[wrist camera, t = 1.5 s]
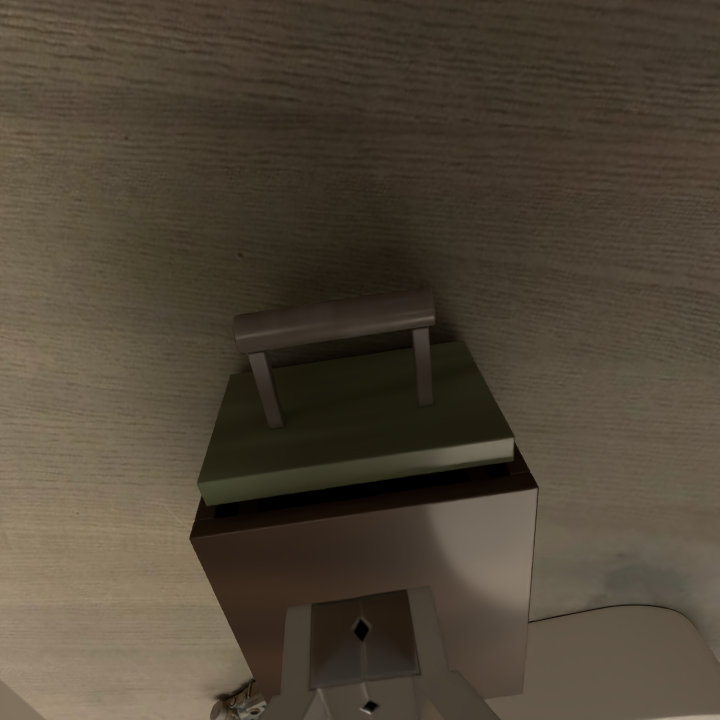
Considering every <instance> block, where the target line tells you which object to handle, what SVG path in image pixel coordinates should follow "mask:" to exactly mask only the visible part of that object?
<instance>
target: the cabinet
mask: <svg viewBox="0 0 720 720" xmlns="http://www.w3.org/2000/svg"><path fill="white" fill-rule="evenodd" d="M484 466H485V468H486V471H487V473H488V475H489V479H482V480H476V481H469V482H462V483H455V484H448V485H442V486H435V487H428V488H421V489H414V490H407V491H401V492H394V493H387V494H380V495H373V496H367V497H360V498H353V499H346V500H339V501H333V502H326V503H319V504H312V505H305V506H299V507H292V508H285V509H278V510H271V511H265V512H258V513H251V514H244V515H238V510H239V505H240V501H238V502H231V503H225V504H218V505H211V506H206V504H205V501H204V499H203V497H202V496H201V500H200V503H199V506H198V510H197V513H196V517H195V522H194V524H193V527H192V531H191V534H190V538H189V539H190V541H191V544H192V546H193V548H194V550H195V552H196V554H197V556H198V558H199V561H200V563H201V565H202V567H203V569H204V571H205V573H206V576H207V578H208V580H209V582H210V584H211V586H212V588H213V591H214V593H215V595H216V597H217V599H218V601H219V603H220V606H221V608H222V610H223V612H224V614H225V616H226V618H227V621H228V623H229V625H230V627H231V629H232V631H233V633H234V636H235V638H236V640H237V642H238V644H239V646H240V648H241V651H242V653H243V655H244V657H245V659H246V661H247V663H248V666H249V668H250V670H251V672H252V674H253V676H254V678H255V681H256V683H257V685H258V687H259V689H260V691H261V693H262V695H263V698H264V700H265V702H266V704H267V705H268V704H269V702H270V700H271V699H272V697H273V696H276V695H280V694H281V679H282V665H283V650H284V636H285V622H286V614H287V610H288V607H290V606H296V605H303V604H309V603H320V602H327V601H334V600H341V599H348V598H355V597H360V596H366V595H372V594H378V593H384V592H390V591H396V590H403V589H406V591H407V590H408V589H413V588H419V587H426V586H431V588H432V591H433V594H434V598H435V603H436V608H437V612H438V617H439V621H440V626H441V631H442V635H443V640H444V645H445V649H446V654H447V659H448V663H449V668H450V671H451V670H458V671H459V672H460V673H461V674H462V676H463V677H464V678H465V679H466V680H467V681H468V683H469V684H470V685H471V686H472V687H473V688H474V689H475V691H476V692H477V693H478V694H479V695H480V696H481V698H482V699H483V700H484V699H491V698H498V697H505V696H512V695H519V694H523V687H524V674H525V661H526V647H527V634H528V621H529V608H530V595H531V582H532V569H533V556H534V543H535V529H536V516H537V503H538V490H539V487H538V485H537V483H536V481H535V479H534V477H533V476H532V474H531V473H530V470H529V468H528V466H527V464H526V462H525V461H524V459H523V457H522V455H521V453H520V451H519V449H518V447H517V445H516V444H515V442H514V460H513V461H510V462H503V463H496V464H490V465H484Z"/></svg>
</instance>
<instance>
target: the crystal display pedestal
mask: <svg viewBox="0 0 720 720" xmlns="http://www.w3.org/2000/svg"><path fill="white" fill-rule="evenodd" d="M484 701H485V702H486V703H487V704H488V706H489V707H490V708H491V709H492V710H493V711H494V713H495V714H496V715H497V716H498V717H499V718H500V719H501V720H720V663H719V662H718V660H717V659H716V657H715V656H714V654H713V653H712V651H711V650H710V648H709V647H708V645H707V644H706V642H705V641H704V639H703V638H702V636H701V635H700V634H699V632H698V631H697V629H696V628H695V627H694V625H693V624H692V623H691V622H690V621H689V620H688V619H687V618H686V617H684V616H683V615H682V614H680V613H678V612H676V611H673V610H670V609H665V608H659V607H652V606H617V607H609V608H603V609H597V610H591V611H586V612H581V613H576V614H571V615H566V616H561V617H556V618H551V619H546V620H541V621H536V622H531V623H528V634H527V647H526V661H525V674H524V687H523V694H519V695H512V696H505V697H498V698H491V699H484Z"/></svg>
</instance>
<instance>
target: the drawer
mask: <svg viewBox="0 0 720 720" xmlns="http://www.w3.org/2000/svg"><path fill="white" fill-rule="evenodd" d="M434 323H435V306H434V300H433V295H432V292H431V289H430V287H428V286H425V287H419V288H412V289H405V290H399V291H392V292H385V293H379V294H372V295H365V296H359V297H352V298H346V299H339V300H332V301H326V302H319V303H312V304H306V305H299V306H292V307H286V308H279V309H273V310H266V311H259V312H253V313H246V314H239V315H236V316H234V318H233V334H234V339H235V343H236V346H237V348H238V350H239V352H240V353H243V354H244V353H249V354H248V357H249V360H250V363H251V367H252V370H253V372H248V373H241V374H234V375H230V378H229V381H228V384H227V388H226V391H225V394H224V397H223V401H222V404H221V407H220V410H219V414H218V417H217V420H216V423H215V427H214V430H213V433H212V436H211V440H210V443H209V446H208V449H207V452H206V456H205V459H204V462H203V465H202V469H201V472H200V475H199V478H198V482H197V485H198V487H199V489H200V492H201V494H202V497H203V499H204V501H205V504H206V506H211V505H218V504H225V503H231V502H238V501H240V505H239V510H238V515H244V514H251V513H258V512H265V511H271V510H278V509H285V508H292V507H299V506H305V505H312V504H319V503H326V502H333V501H339V500H346V499H353V498H360V497H367V496H373V495H380V494H387V493H394V492H401V491H407V490H414V489H421V488H428V487H435V486H442V485H448V484H455V483H462V482H469V481H476V480H482V479H489V475H488V473H487V471H486V468H485V466H484V465H490V464H496V463H503V462H510V461H513V460H514V442H515V436H514V434H513V433H512V431H511V429H510V427H509V425H508V423H507V421H506V419H505V418H504V416H503V414H502V412H501V410H500V408H499V406H498V405H497V403H496V401H495V399H494V397H493V395H492V393H491V391H490V390H489V388H488V386H487V384H486V382H485V380H484V378H483V376H482V375H481V373H480V371H479V369H478V367H477V365H476V363H475V362H474V360H473V358H472V356H471V354H470V352H469V350H468V348H467V347H466V345H465V343H464V341H462V340H461V341H455V342H448V343H441V344H435V345H430V342H429V328H428V326H431V325H434ZM404 329H411V340H412V348H408V349H401V350H395V351H388V352H381V353H375V354H368V355H361V356H355V357H348V358H341V359H334V360H328V361H321V362H314V363H308V364H301V365H294V366H288V367H281V368H274V369H271V365H270V361H269V357H268V354H267V350H271V349H277V348H284V347H291V346H297V345H304V344H311V343H317V342H324V341H331V340H337V339H344V338H351V337H357V336H364V335H371V334H377V333H384V332H391V331H397V330H404Z"/></svg>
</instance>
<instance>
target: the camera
mask: <svg viewBox="0 0 720 720" xmlns="http://www.w3.org/2000/svg"><path fill="white" fill-rule="evenodd" d="M266 707H267V704H266V702H265V700H264V698H263V695H262V693H261V691H260V689H259V687H258V685H257V683H256V682H253V683H249V687H248V688H246V689H244V690H243V692H242V693H240V694H238V695H236V696H234V697H232V698H230V699H228V700H226V701H225V702H224V703H223V702H220V701H219V702H217V703H216V704H215V705H214V706H213V708H212V711H211V714H210V719H211V720H259V719H260V717H261V715H262V714H263V712H264V710H265V709H266Z"/></svg>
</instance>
